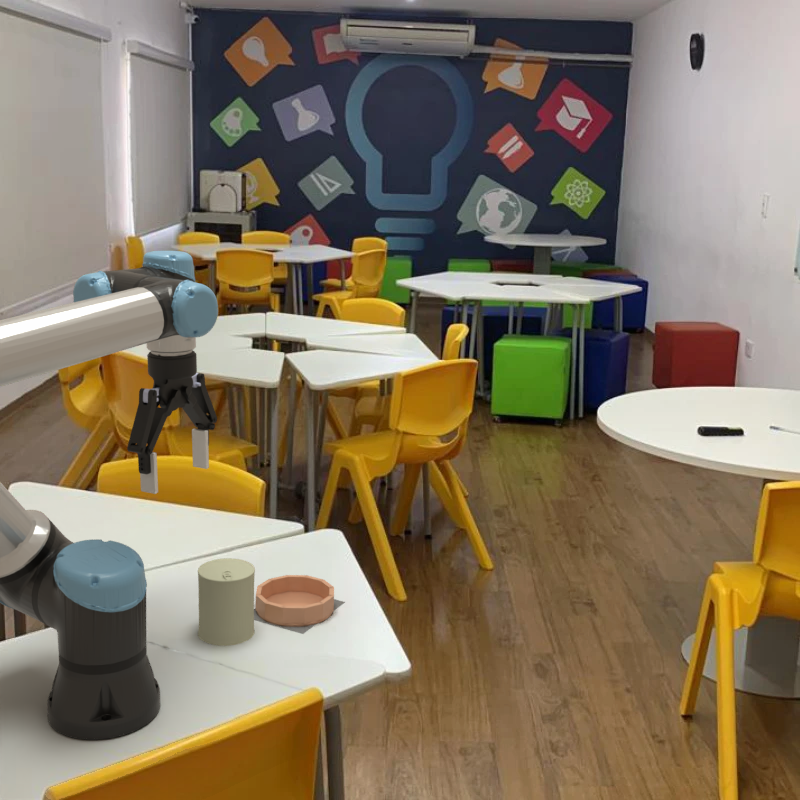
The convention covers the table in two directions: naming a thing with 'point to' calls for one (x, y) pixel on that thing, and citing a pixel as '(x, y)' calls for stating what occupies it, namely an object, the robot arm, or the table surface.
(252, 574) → the can
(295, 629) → the mat
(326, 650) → the table surface
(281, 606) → the bowl
